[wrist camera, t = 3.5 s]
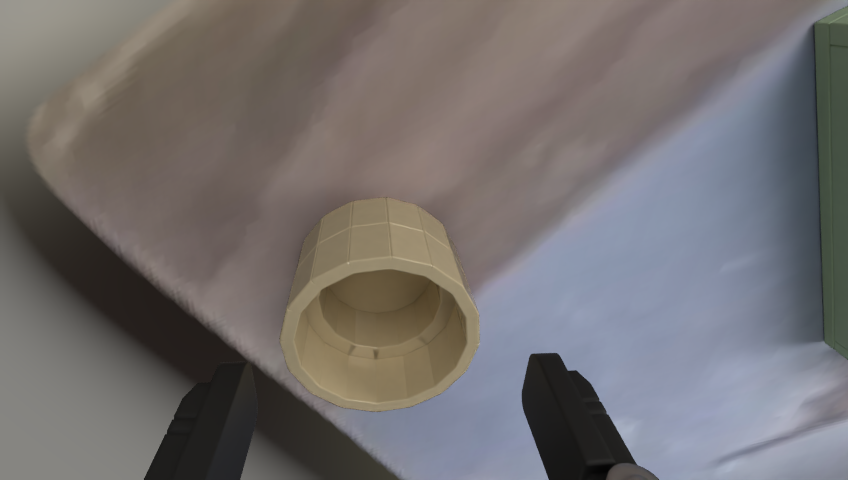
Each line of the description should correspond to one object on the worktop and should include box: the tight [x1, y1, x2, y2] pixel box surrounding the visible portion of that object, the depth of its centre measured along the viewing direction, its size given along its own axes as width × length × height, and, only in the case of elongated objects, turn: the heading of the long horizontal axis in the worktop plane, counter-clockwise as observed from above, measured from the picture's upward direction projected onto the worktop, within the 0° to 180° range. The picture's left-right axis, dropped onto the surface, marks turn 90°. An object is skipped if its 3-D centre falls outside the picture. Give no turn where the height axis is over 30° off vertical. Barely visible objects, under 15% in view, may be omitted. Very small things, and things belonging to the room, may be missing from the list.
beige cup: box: [279, 197, 480, 412], centre depth 16 cm, size 6×6×5 cm
